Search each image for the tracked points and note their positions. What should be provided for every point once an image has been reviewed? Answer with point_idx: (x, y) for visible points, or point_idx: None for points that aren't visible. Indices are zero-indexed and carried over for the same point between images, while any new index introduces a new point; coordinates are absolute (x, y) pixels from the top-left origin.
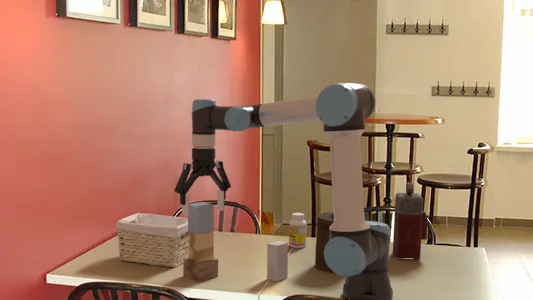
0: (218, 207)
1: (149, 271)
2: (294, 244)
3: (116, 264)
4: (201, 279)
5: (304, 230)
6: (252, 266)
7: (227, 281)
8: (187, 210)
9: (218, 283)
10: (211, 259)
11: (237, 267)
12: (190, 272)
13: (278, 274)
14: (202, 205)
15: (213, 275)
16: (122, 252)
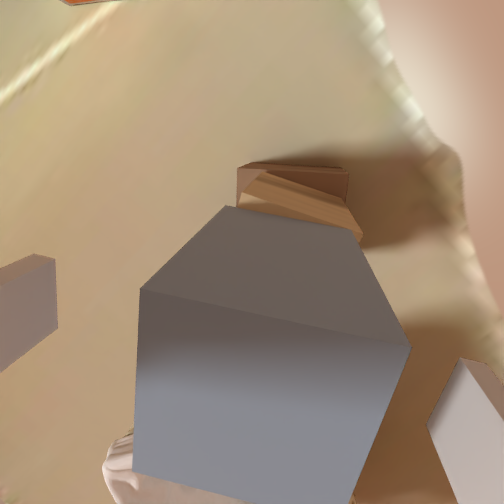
0: (39, 323)
1: None
2: None
3: (379, 466)
4: (331, 167)
5: None
6: (78, 163)
7: (264, 93)
8: (500, 400)
9: (307, 100)
10: (272, 175)
11: (126, 192)
12: None
13: None
14: (289, 362)
15: (271, 164)
16: (353, 497)
